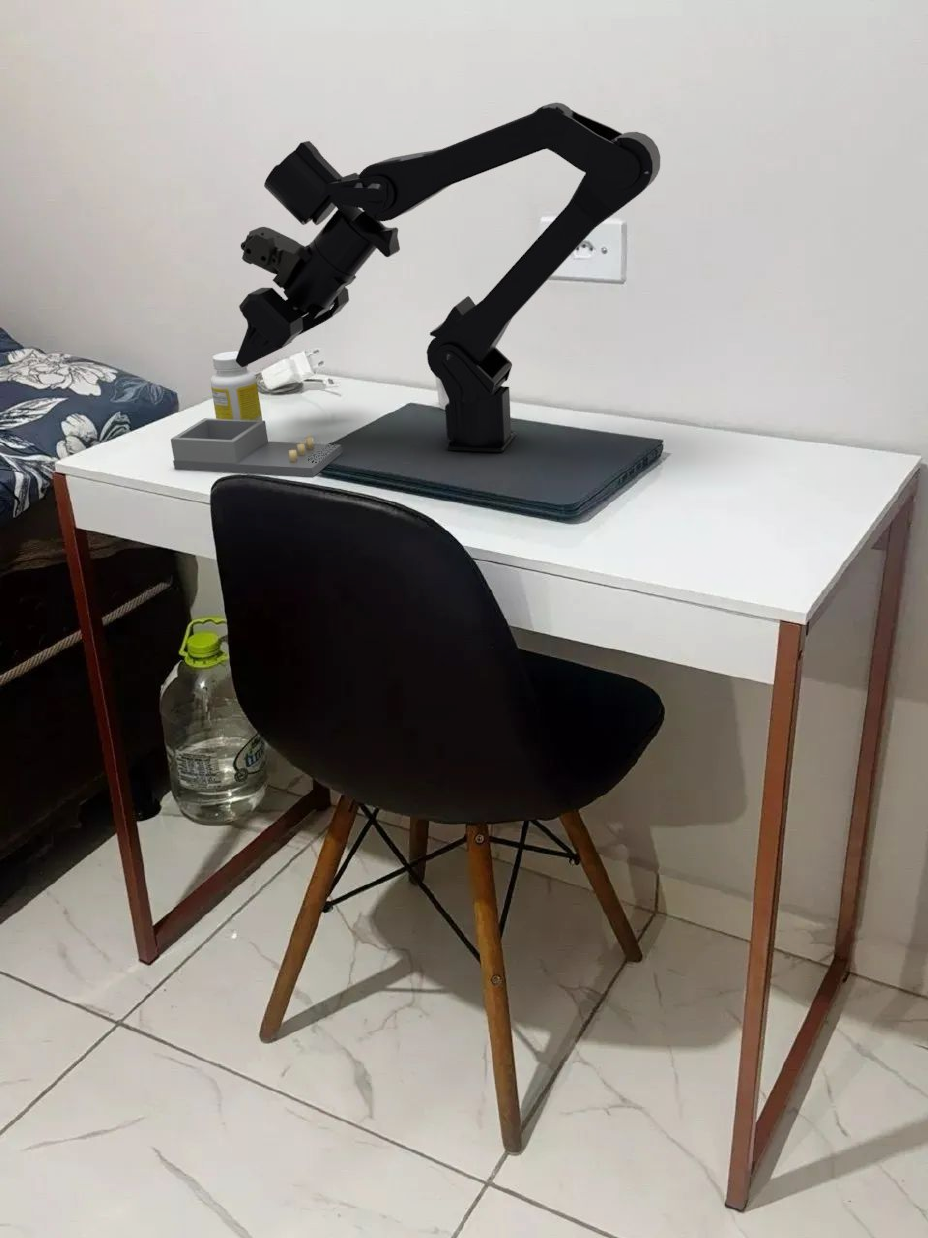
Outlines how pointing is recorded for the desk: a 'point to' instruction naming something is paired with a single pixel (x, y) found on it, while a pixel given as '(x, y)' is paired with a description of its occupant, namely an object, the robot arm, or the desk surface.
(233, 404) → the supplement bottle
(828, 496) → the desk surface
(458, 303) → the robot arm
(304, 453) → the grey organizer tray
